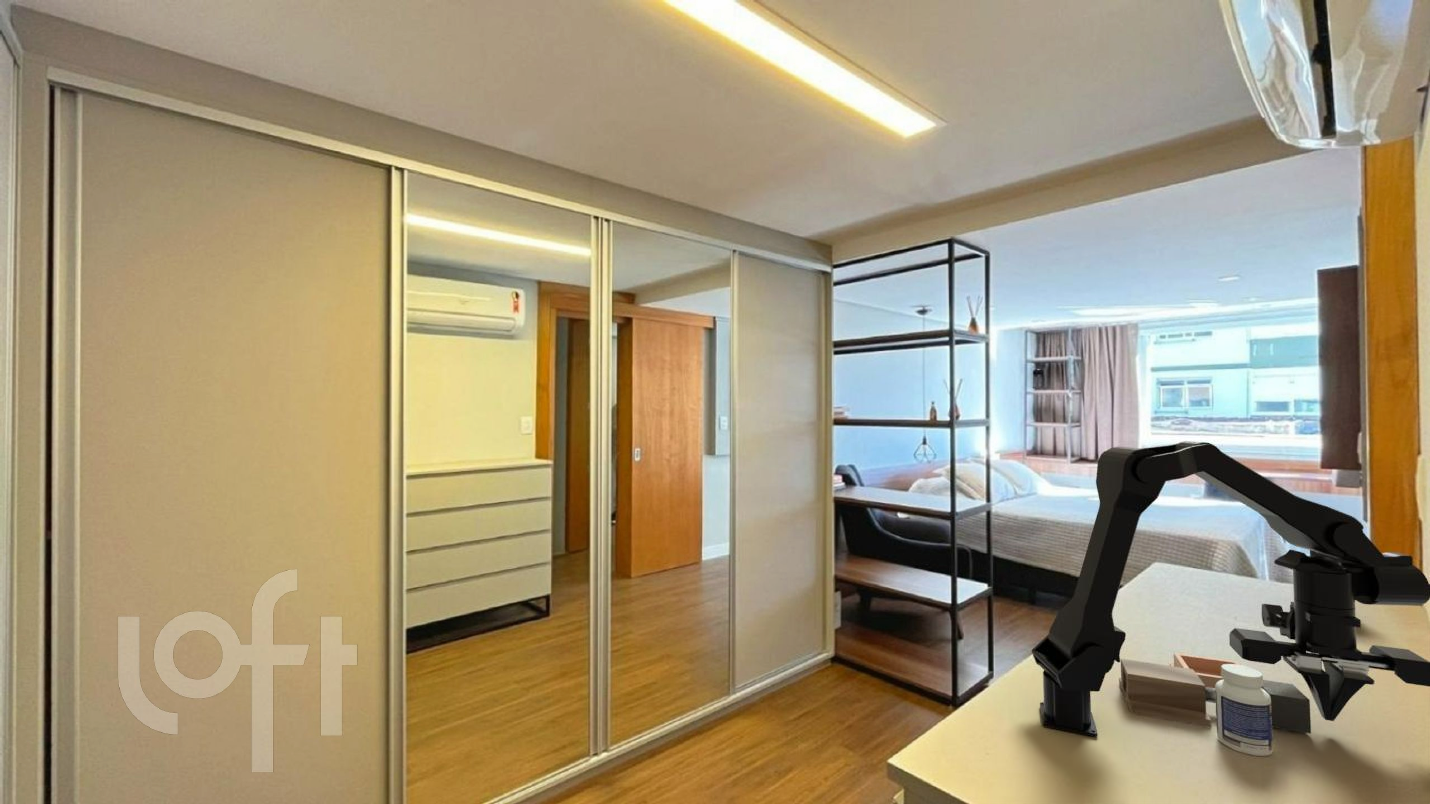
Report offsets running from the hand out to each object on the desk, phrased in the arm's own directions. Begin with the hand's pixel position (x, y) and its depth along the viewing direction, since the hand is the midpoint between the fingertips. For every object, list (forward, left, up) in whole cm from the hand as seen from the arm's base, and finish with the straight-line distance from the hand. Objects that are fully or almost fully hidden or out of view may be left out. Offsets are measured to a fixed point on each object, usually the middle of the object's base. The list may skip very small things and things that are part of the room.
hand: (1327, 719), depth 77 cm
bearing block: (0, +18, -2) cm, 18 cm away
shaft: (0, +9, -1) cm, 9 cm away
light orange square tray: (+12, +9, -2) cm, 15 cm away
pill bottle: (-8, +11, -2) cm, 14 cm away
